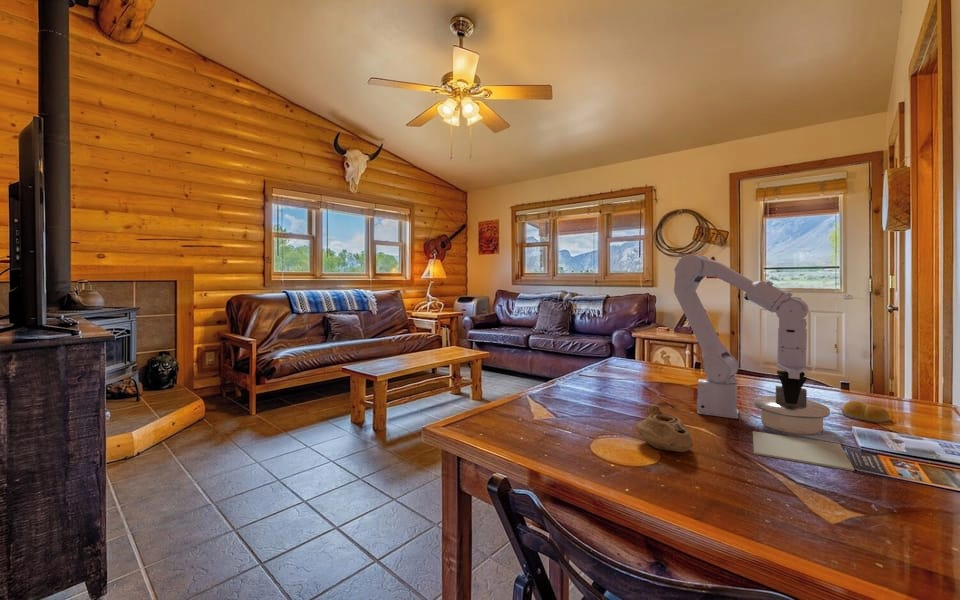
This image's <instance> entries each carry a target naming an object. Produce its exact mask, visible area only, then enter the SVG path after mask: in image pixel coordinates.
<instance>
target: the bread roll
mask: <svg viewBox="0 0 960 600" xmlns="http://www.w3.org/2000/svg"><path fill="white" fill-rule="evenodd" d="M841 413H842V415H844V416H845V417H848V418H851V419H854V420H859V421H862V420H863V421H865V422H869V423H870V422H872V423H884V422H889V420H890V414H889V412H888V411H887V409H885V408H884V407H882V406H880V405H875V404H865V403H863V402H861V401H856V400H851V401H848V402H845V404H844V405H843V406H842V407H841Z"/></svg>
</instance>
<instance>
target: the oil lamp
mask: <svg viewBox="0 0 960 600" xmlns="http://www.w3.org/2000/svg"><path fill="white" fill-rule="evenodd" d="M635 429H636V432H637V433H638V434H639V436H641V438H643V439H644V440H645V441H646V442H647V444H648V445H649V446H652V447H653V448H656V449H658V450H661V451H662V450H663V451H665V452H666V451H667V452H672V451H673V452H678V453H679V452H680V453H682V452H683V453H684V452H687V451H690V450H691V449H692V447H693V446H694V442H693V438H692V433H691V432H690V430H689V429H688V428H687V427H686V426H685V424H684V423H683V421H682V420H681V419H680V418H679V417H678V416H675V415H673V414H671V413H664V412H663V411H662V410H661V409H660V406H659V405H658V404H655V403H654V404H652V405H650V406H649V407H648V413H647V416H646V418H645V419H643V420H642V421H640V422H638V423H637V424H636V428H635Z"/></svg>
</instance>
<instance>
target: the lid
mask: <svg viewBox="0 0 960 600" xmlns="http://www.w3.org/2000/svg"><path fill="white" fill-rule="evenodd" d="M807 391H808V390H807V389H806V388H803V387H802V388H801V391H800V394H799V398H798V401H797V404H789V403H786V401H785V397H784V391H783V386H782V385H780V386H779V385H776V386H775V395H763V396H758V397H755V398H754V401H753V405H754V406H755V407H756V408H758V410H759V409H760V410H761V409H762V410H764V411H767V412H770V413H774V414H779V415H784V416H790V417H797V418H823V419H824V418H827V417H829V416H830V414H831V409H830V408H829V406H826V405H824V404H822V403H819V402H816V401H813V400H808V399H807V394H808V393H807Z"/></svg>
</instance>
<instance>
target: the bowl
mask: <svg viewBox="0 0 960 600" xmlns="http://www.w3.org/2000/svg"><path fill="white" fill-rule="evenodd" d="M760 419H761V420H760V421H761V424H762V425H763V426H765V427H766V428H770V429H773V430H775V431H779V432H784V433H788V434H795V435H806V436H809V435H812V436H813V435H817V434H820V433H822V431H823V430H824V418H797V417H790V416H784V415H779V414H774V413H770V412H767V411H764V410H762V409H760Z"/></svg>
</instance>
